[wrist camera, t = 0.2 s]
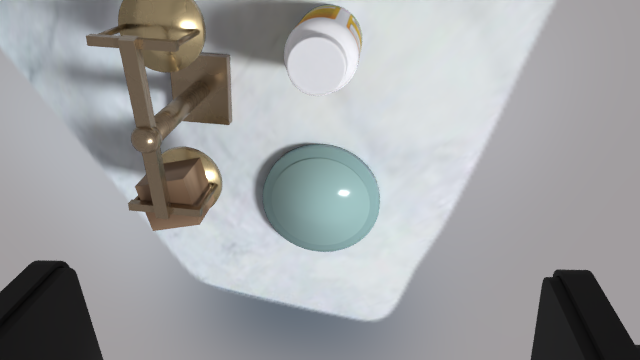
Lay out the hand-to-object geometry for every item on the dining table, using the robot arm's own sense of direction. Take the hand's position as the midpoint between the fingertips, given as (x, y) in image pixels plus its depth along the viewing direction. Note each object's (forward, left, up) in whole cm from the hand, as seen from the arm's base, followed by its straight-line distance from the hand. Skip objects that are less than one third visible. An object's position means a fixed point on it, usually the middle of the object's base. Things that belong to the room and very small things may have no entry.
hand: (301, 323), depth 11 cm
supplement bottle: (+2, -3, -36) cm, 36 cm away
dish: (+17, -3, -36) cm, 39 cm away
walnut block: (+13, -14, -30) cm, 35 cm away
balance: (+7, -14, -36) cm, 39 cm away
